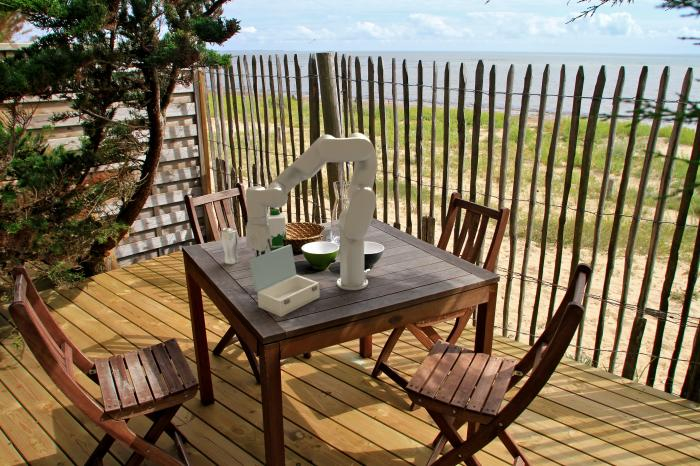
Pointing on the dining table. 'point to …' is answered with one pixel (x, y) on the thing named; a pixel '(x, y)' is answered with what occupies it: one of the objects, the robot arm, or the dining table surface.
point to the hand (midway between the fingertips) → (261, 264)
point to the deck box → (288, 295)
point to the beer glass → (230, 245)
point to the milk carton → (277, 228)
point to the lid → (272, 267)
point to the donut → (325, 233)
